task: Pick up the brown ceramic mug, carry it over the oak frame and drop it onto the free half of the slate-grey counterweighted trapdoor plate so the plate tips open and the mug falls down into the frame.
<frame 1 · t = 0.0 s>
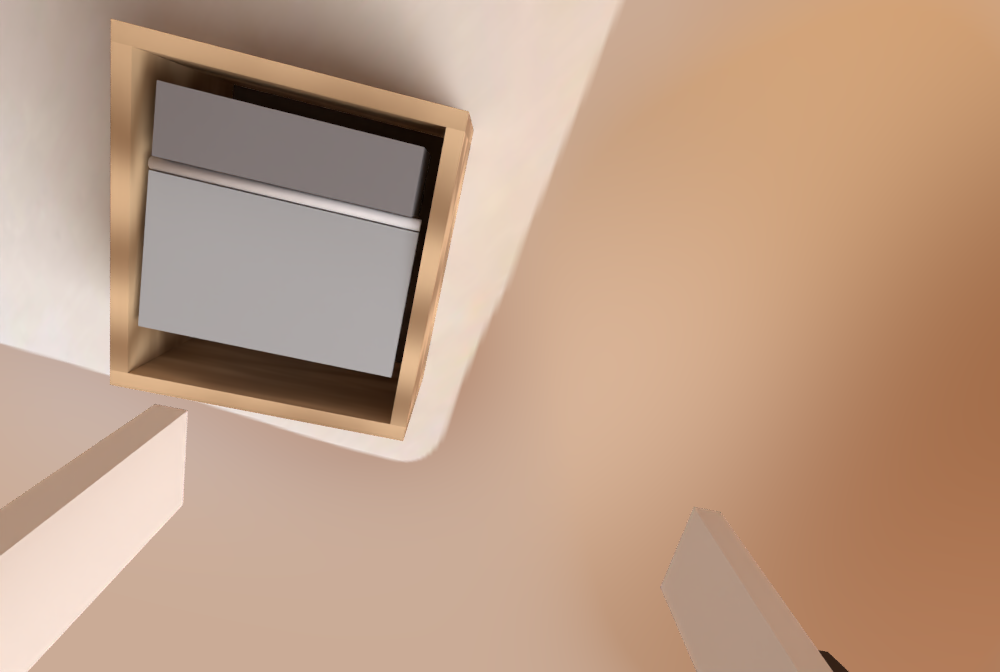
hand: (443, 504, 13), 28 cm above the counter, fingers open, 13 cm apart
trapdoor: (290, 239, 29), point 9 cm above the counter, hinge at 4.0°
trapdoor frame: (331, 237, 38), on the counter
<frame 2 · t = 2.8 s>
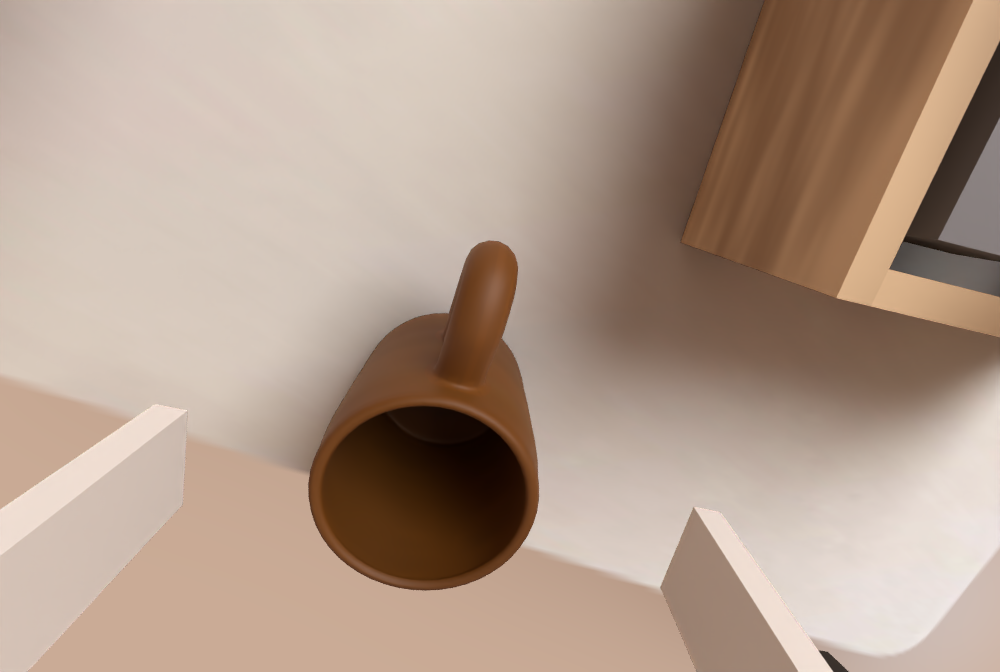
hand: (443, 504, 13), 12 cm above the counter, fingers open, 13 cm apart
mug: (457, 340, 24), on the counter
trapdoor frame: (971, 88, 21), on the counter
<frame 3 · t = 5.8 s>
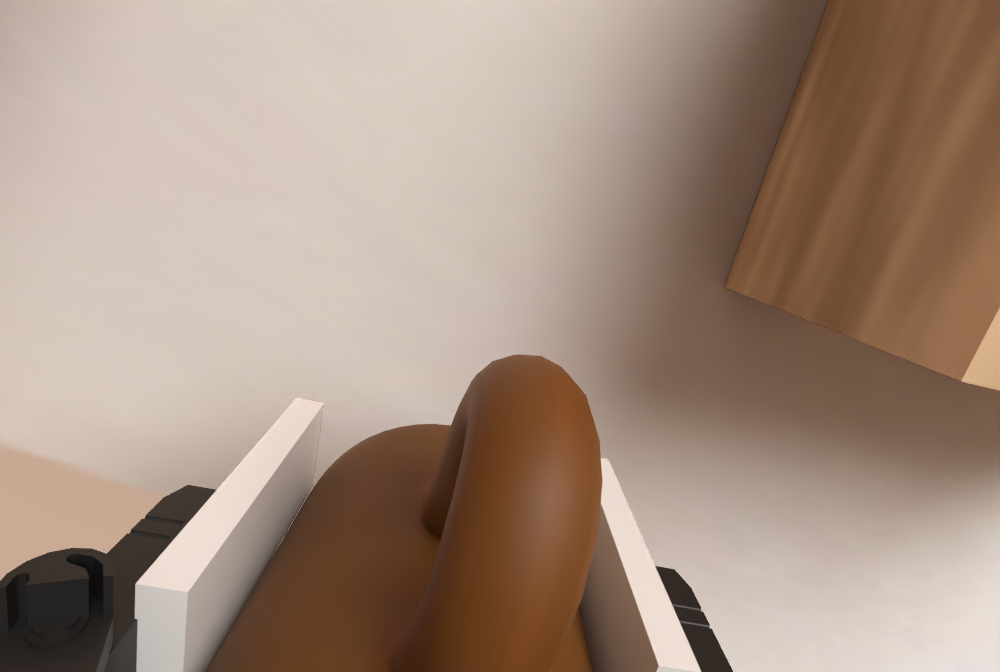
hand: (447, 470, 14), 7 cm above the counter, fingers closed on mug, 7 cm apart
mug: (455, 460, 15), point 6 cm above the counter, touching gripper
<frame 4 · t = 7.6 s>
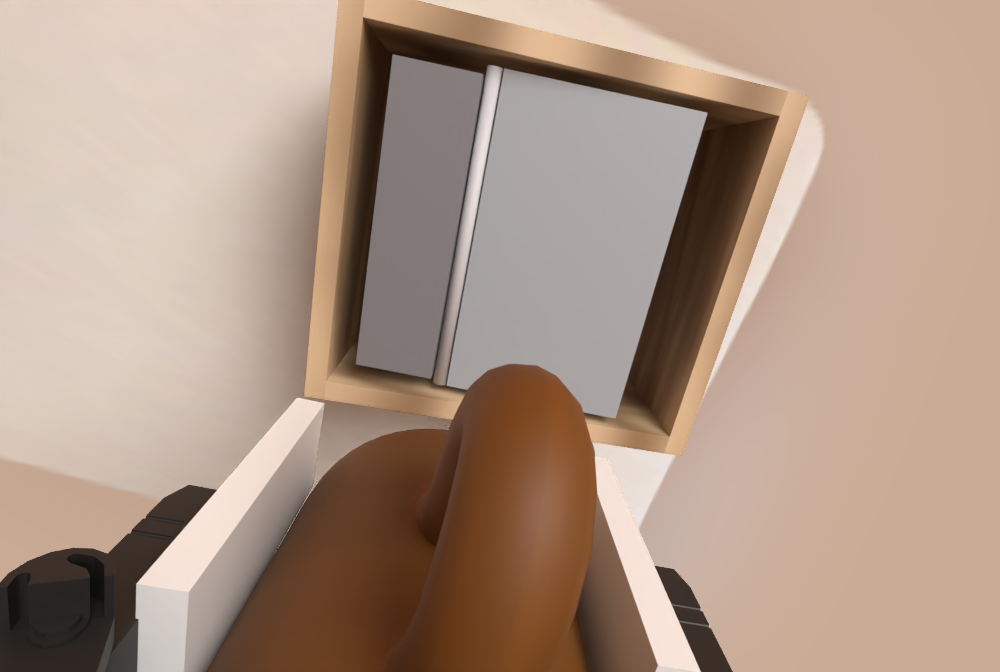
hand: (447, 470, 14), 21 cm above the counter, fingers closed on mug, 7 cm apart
trapdoor: (517, 248, 25), point 9 cm above the counter, hinge at 4.0°
mug: (453, 465, 15), point 20 cm above the counter, touching gripper
trapdoor frame: (519, 232, 33), on the counter
when the fingers open (12 cm above the counter, at t = 9.6 s): mug drops 5 cm, resting on trapdoor.
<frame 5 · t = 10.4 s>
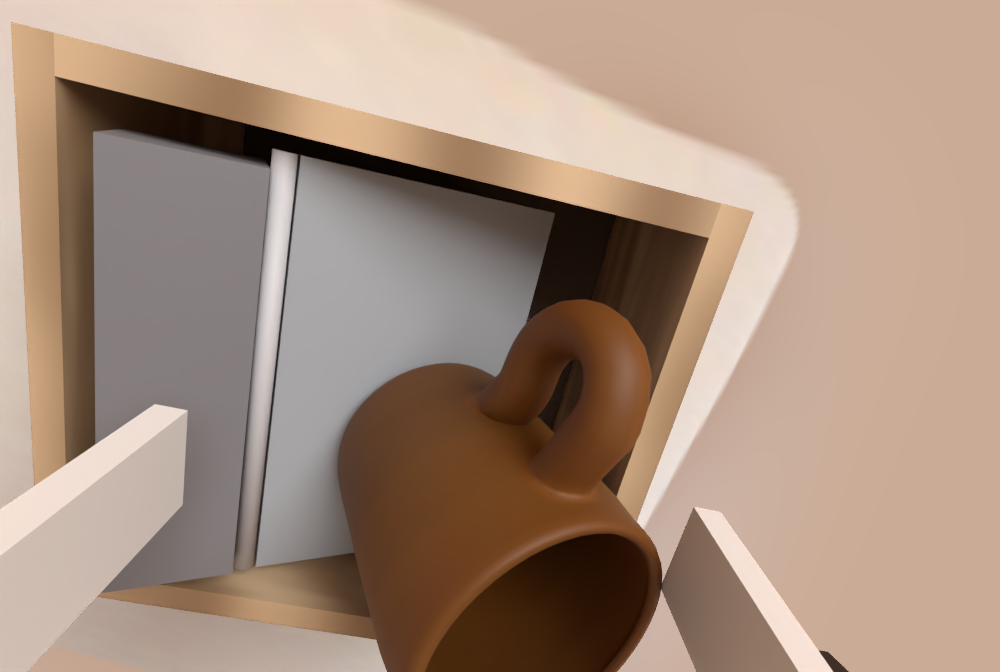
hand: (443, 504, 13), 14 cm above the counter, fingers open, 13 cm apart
trapdoor: (337, 374, 19), point 7 cm above the counter, hinge at -24.9°, touching mug
mug: (443, 390, 20), point 7 cm above the counter, touching gripper, trapdoor
trapdoor frame: (408, 326, 26), on the counter
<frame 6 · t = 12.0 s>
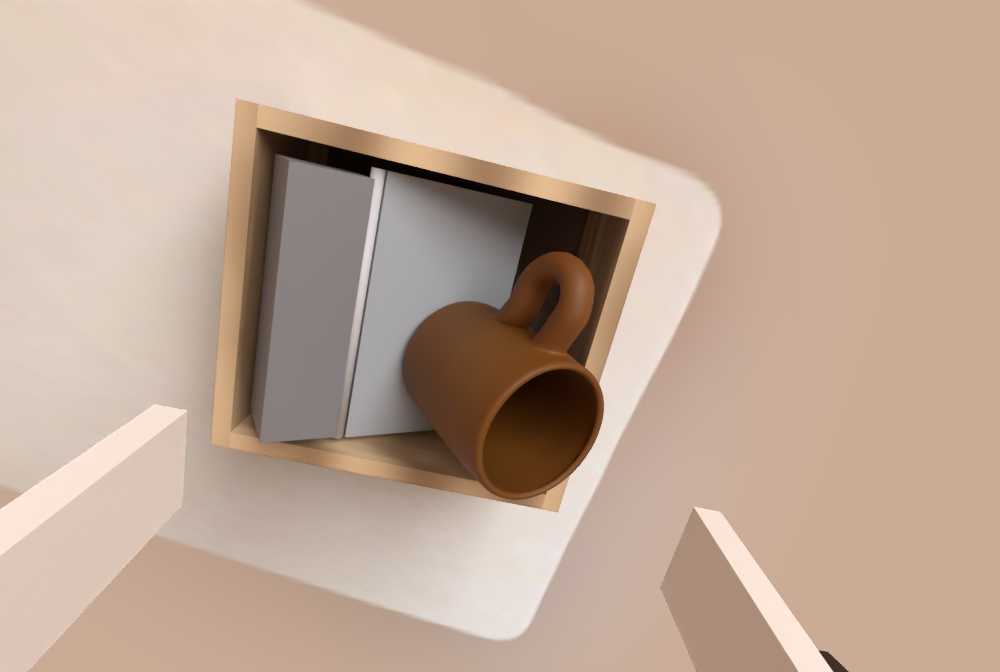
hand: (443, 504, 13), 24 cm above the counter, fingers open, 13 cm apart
trapdoor: (395, 309, 28), point 7 cm above the counter, hinge at -31.2°, touching mug
mug: (465, 321, 30), point 6 cm above the counter, touching trapdoor, trapdoor frame
trapdoor frame: (439, 290, 36), on the counter
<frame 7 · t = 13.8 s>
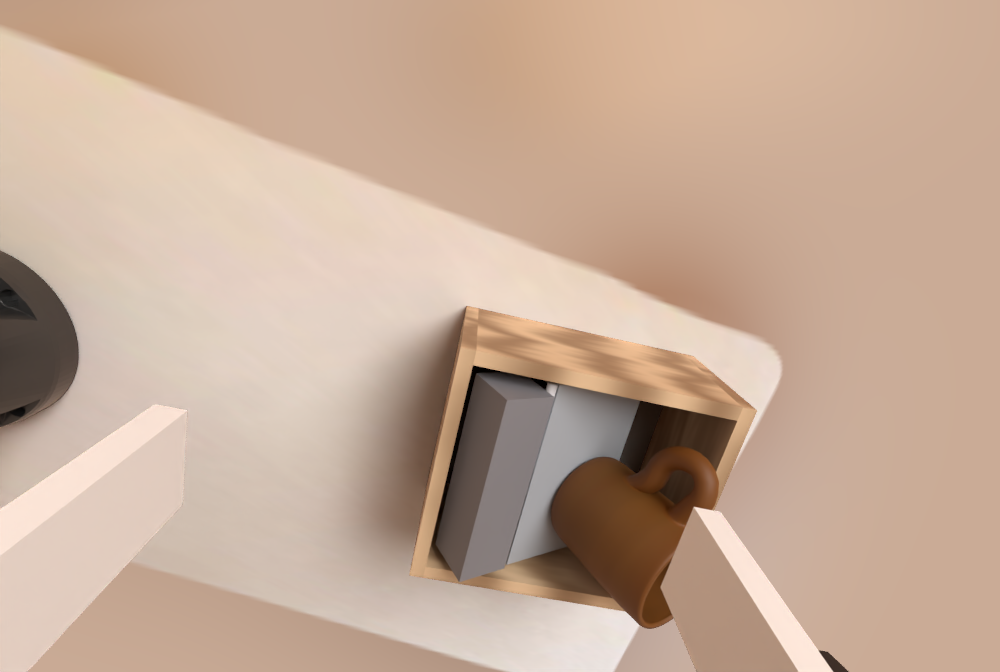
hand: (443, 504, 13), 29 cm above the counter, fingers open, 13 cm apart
trapdoor: (544, 466, 37), point 7 cm above the counter, hinge at -31.2°, touching mug
mug: (593, 468, 39), point 6 cm above the counter, touching trapdoor, trapdoor frame
trapdoor frame: (554, 425, 44), on the counter
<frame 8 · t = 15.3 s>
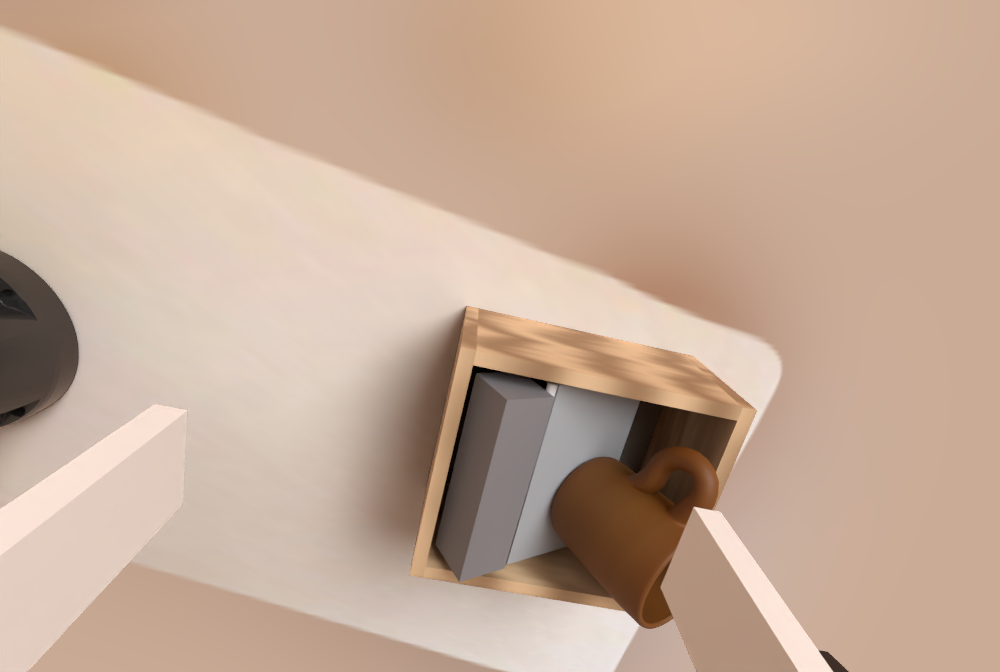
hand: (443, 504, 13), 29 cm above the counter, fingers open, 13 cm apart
trapdoor: (544, 466, 37), point 7 cm above the counter, hinge at -31.2°, touching mug
mug: (592, 468, 39), point 6 cm above the counter, touching trapdoor, trapdoor frame
trapdoor frame: (554, 425, 44), on the counter
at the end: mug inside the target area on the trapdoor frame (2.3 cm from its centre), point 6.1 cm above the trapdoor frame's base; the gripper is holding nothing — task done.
